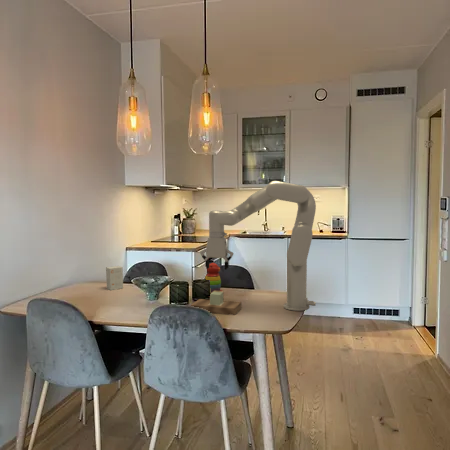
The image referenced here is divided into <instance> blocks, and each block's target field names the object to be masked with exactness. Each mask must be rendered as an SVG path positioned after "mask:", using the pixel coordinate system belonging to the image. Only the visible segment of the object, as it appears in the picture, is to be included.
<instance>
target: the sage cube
mask: <svg viewBox="0 0 450 450" xmlns="http://www.w3.org/2000/svg"><path fill="white" fill-rule="evenodd" d="M209 300H210V304H213V305H221V304H222V303H223V292H212V293H211V294H210V296H209Z"/></svg>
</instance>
